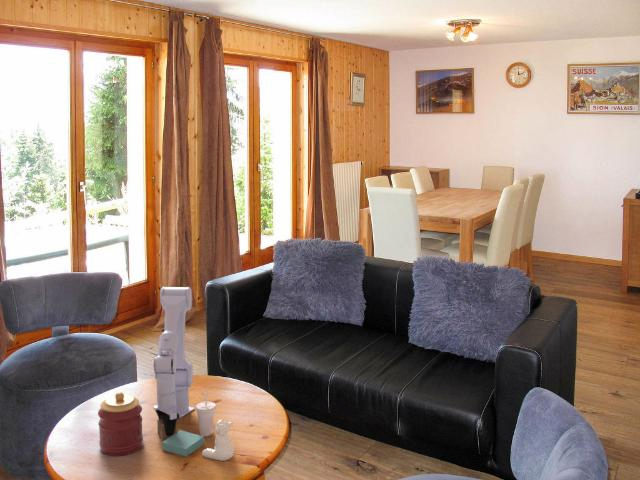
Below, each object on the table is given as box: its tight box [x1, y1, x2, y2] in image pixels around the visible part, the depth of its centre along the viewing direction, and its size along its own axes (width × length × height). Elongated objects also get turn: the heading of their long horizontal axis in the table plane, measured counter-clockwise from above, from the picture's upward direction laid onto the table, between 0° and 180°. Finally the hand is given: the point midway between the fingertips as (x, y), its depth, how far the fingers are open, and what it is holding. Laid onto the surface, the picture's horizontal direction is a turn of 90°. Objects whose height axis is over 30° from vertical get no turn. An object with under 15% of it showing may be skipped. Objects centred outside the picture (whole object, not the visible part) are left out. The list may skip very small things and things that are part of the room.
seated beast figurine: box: [201, 419, 235, 462], centre depth 200 cm, size 10×9×12 cm
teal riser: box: [161, 429, 205, 457], centre depth 206 cm, size 9×9×2 cm
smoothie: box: [195, 392, 217, 437], centre depth 214 cm, size 6×6×14 cm
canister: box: [97, 391, 144, 457], centre depth 205 cm, size 13×13×18 cm
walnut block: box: [156, 418, 178, 442], centre depth 213 cm, size 5×5×5 cm
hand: (167, 431), depth 213 cm, fingers closed on walnut block, 5 cm apart
